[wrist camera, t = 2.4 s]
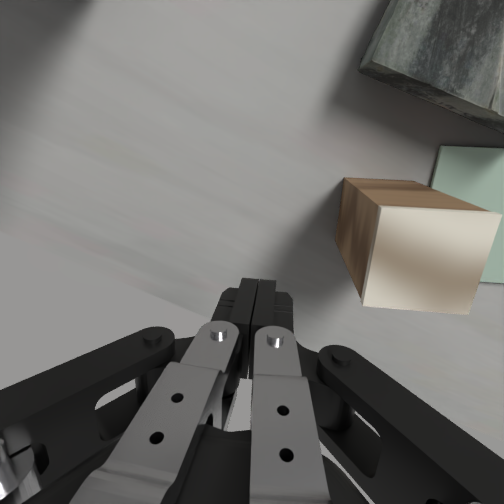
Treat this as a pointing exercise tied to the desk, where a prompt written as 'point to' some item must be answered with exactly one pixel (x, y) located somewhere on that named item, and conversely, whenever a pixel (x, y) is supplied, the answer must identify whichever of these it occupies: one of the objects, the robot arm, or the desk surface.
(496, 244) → the sage mat
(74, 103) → the desk surface
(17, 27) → the desk surface
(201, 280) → the desk surface
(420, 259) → the walnut block
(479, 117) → the stone block
